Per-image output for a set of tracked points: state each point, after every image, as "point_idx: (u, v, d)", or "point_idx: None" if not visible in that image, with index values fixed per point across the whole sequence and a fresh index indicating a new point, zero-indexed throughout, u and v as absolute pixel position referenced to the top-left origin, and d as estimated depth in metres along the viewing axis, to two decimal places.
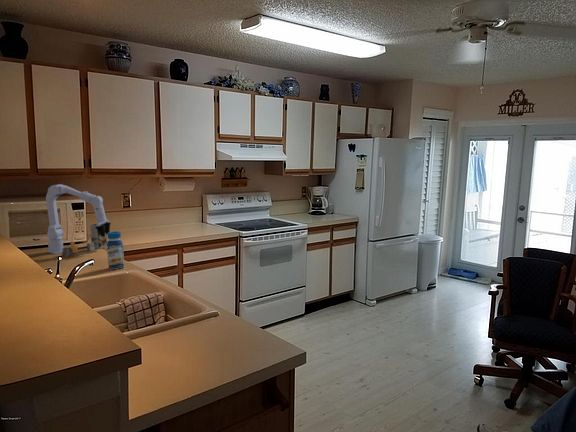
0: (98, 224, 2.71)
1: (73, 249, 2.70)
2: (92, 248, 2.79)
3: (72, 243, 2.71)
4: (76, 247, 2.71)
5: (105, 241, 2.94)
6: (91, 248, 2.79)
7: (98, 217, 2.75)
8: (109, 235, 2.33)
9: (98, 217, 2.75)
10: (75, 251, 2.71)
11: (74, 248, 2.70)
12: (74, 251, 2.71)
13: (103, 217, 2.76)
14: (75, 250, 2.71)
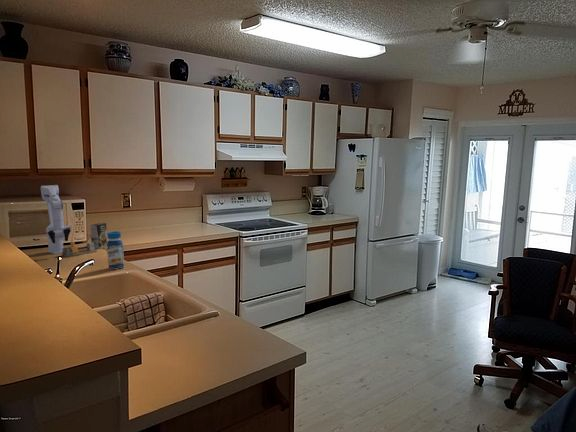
0: (46, 230, 2.58)
1: (73, 249, 2.70)
2: (92, 248, 2.79)
3: (72, 243, 2.71)
4: (76, 247, 2.71)
5: (105, 241, 2.94)
6: (91, 248, 2.79)
7: (53, 222, 2.62)
8: (109, 235, 2.33)
9: (53, 222, 2.62)
10: (75, 251, 2.71)
11: (74, 248, 2.70)
12: (74, 251, 2.71)
13: (57, 223, 2.61)
14: (75, 250, 2.71)
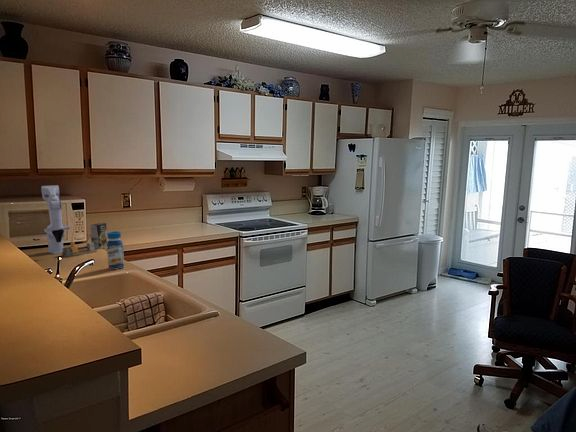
0: (45, 230, 2.59)
1: (73, 249, 2.70)
2: (92, 248, 2.79)
3: (72, 243, 2.71)
4: (76, 247, 2.71)
5: (105, 241, 2.94)
6: (91, 248, 2.79)
7: (51, 222, 2.62)
8: (109, 235, 2.33)
9: (51, 222, 2.62)
10: (75, 251, 2.71)
11: (74, 248, 2.70)
12: (74, 251, 2.71)
13: (55, 224, 2.61)
14: (75, 250, 2.71)
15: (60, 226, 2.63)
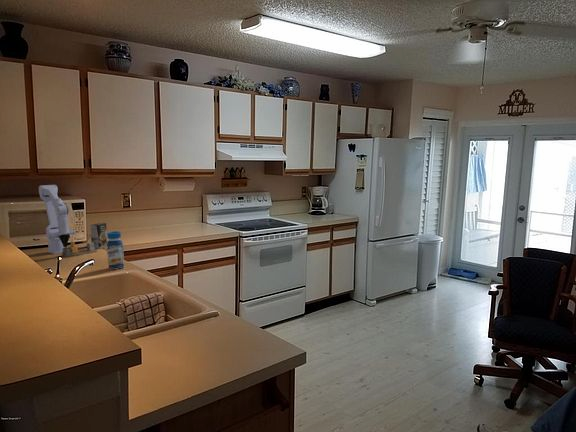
0: (52, 235, 2.61)
1: (73, 249, 2.70)
2: (92, 248, 2.79)
3: (72, 243, 2.71)
4: (76, 247, 2.71)
5: (105, 241, 2.94)
6: (91, 248, 2.79)
7: (58, 227, 2.64)
8: (109, 235, 2.33)
9: (58, 227, 2.64)
10: (75, 251, 2.71)
11: (74, 248, 2.70)
12: (74, 251, 2.71)
13: (62, 229, 2.63)
14: (75, 250, 2.71)
15: (66, 231, 2.65)
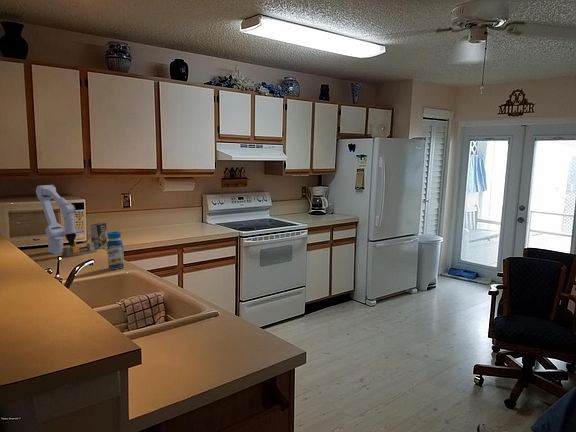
0: (58, 234, 2.64)
1: (74, 249, 2.71)
2: (92, 248, 2.79)
3: None
4: (77, 247, 2.72)
5: (105, 241, 2.94)
6: (91, 248, 2.79)
7: None
8: (109, 235, 2.33)
9: None
10: (76, 251, 2.72)
11: (75, 248, 2.71)
12: (75, 251, 2.71)
13: (68, 228, 2.66)
14: (76, 250, 2.72)
15: (73, 230, 2.68)
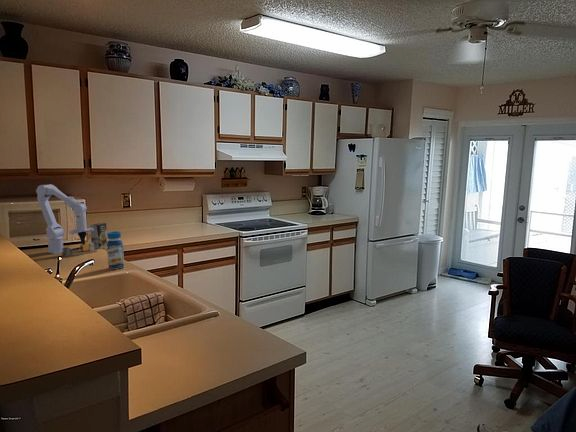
0: (70, 232, 2.70)
1: (85, 247, 2.76)
2: (92, 248, 2.79)
3: None
4: (88, 245, 2.77)
5: (105, 241, 2.94)
6: (91, 248, 2.79)
7: None
8: (109, 235, 2.33)
9: (76, 224, 2.73)
10: (87, 249, 2.77)
11: (86, 246, 2.76)
12: (86, 249, 2.76)
13: (80, 226, 2.72)
14: (87, 248, 2.77)
15: (84, 228, 2.74)
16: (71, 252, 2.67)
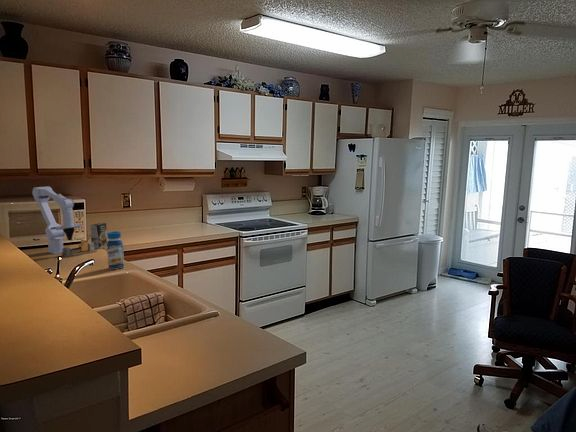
0: (57, 228, 2.65)
1: (83, 247, 2.75)
2: (92, 248, 2.79)
3: (82, 241, 2.76)
4: (86, 245, 2.77)
5: (105, 241, 2.94)
6: (91, 248, 2.79)
7: (63, 221, 2.68)
8: (109, 235, 2.33)
9: (63, 220, 2.68)
10: (85, 249, 2.76)
11: (84, 246, 2.76)
12: (84, 249, 2.76)
13: (67, 222, 2.67)
14: (85, 248, 2.76)
15: (71, 224, 2.69)
16: (71, 252, 2.67)
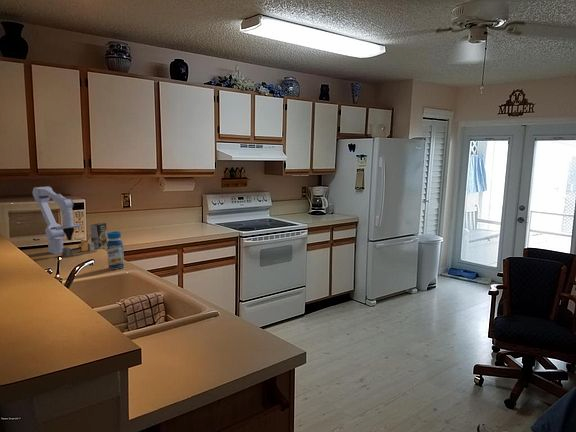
0: (56, 228, 2.65)
1: (83, 247, 2.75)
2: (92, 248, 2.79)
3: (82, 241, 2.76)
4: (86, 245, 2.77)
5: (105, 241, 2.94)
6: (91, 248, 2.79)
7: None
8: (109, 235, 2.33)
9: None
10: (85, 249, 2.76)
11: (84, 246, 2.76)
12: (84, 249, 2.76)
13: (66, 222, 2.67)
14: (85, 248, 2.76)
15: (71, 224, 2.69)
16: (71, 252, 2.67)
